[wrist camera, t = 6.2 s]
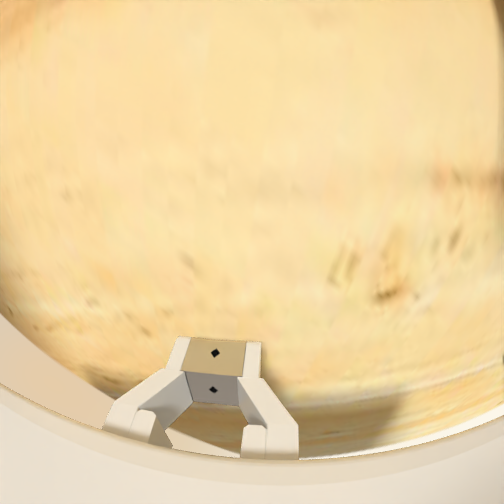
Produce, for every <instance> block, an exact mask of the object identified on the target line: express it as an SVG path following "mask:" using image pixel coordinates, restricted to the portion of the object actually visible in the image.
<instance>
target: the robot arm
mask: <svg viewBox="0 0 504 504" xmlns="http://www.w3.org/2000/svg"><path fill="white" fill-rule="evenodd" d="M261 345H262V344H261V342H248V341H229V340H213V339H204V338H195V337H185V336H178V338H177V339H176V341H175V344H174V346H173V349H172V352H171V354H170V357H169V360H168V362H167V365H166V368H165V369H163V368H161V369H160V370H158V371H157V372H155V373H154V374H153V375H151V376H150V377H148V378H147V379H145V380H144V381H143V382H141V383H140V384H138V385H137V386H135V387H134V388H133V389H131V390H130V391H128V392H127V393H125V394H124V395H122V396H121V397H120V398H118V399H117V400H115V401H114V403H113V405H112V407H111V409H110V412H109V414H108V416H107V419H106V421H105V423H104V426H103V428H102V430H100V429H98V428H94V427H92V426H89V425H86V424H84V423H81V422H78V421H76V420H73V419H71V418H69V417H66V416H64V415H61V414H59V413H57V412H55V411H52V410H50V409H48V408H46V407H43V406H41V405H39V404H37V403H35V402H33V401H31V400H30V399H28V398H25V397H24V396H22V395H20V394H18V393H16V392H14V391H13V390H11V389H9V388H8V387H6V386H4V385H2V384H1V383H0V504H504V415H503V416H501V417H498V418H496V419H494V420H491V421H489V422H487V423H484V424H482V425H479V426H477V427H474V428H471V429H468V430H465V431H463V432H460V433H457V434H454V435H450V436H447V437H444V438H441V439H437V440H434V441H430V442H426V443H422V444H419V445H414V446H410V447H405V448H401V449H396V450H391V451H385V452H379V453H373V454H367V455H359V456H351V457H341V458H329V459H312V460H299V435H298V424H297V423H296V422H295V420H294V419H293V418H292V416H291V415H290V414H289V412H288V411H287V410H286V409H285V407H284V406H283V405H282V403H281V402H280V401H279V399H278V398H277V396H276V395H275V394H274V392H273V391H272V390H271V388H270V387H269V386H268V384H267V383H266V381H265V380H264V379H263V378H260V374H261ZM193 401H195V402H205V403H216V404H224V405H233V406H239V407H240V409H241V411H242V413H243V415H244V417H245V419H246V420H247V422H248V424H249V425H247V426H246V427H244V430H243V437H242V445H241V452H240V458H232V457H222V456H214V455H206V454H200V453H193V452H187V451H181V450H176V449H172V446H173V445H172V443H171V442H170V440H169V438H168V436H167V435H166V433H165V430H166V429H167V428H168V427H169V426H170V425H171V424H172V423H173V422H174V421H175V420H176V419H177V418H178V417H179V416H180V415H181V414H182V413H183V412H184V411H185V410H186V409H187V408H188V407H189V406H190V405H191V404H192V403H193Z"/></svg>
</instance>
